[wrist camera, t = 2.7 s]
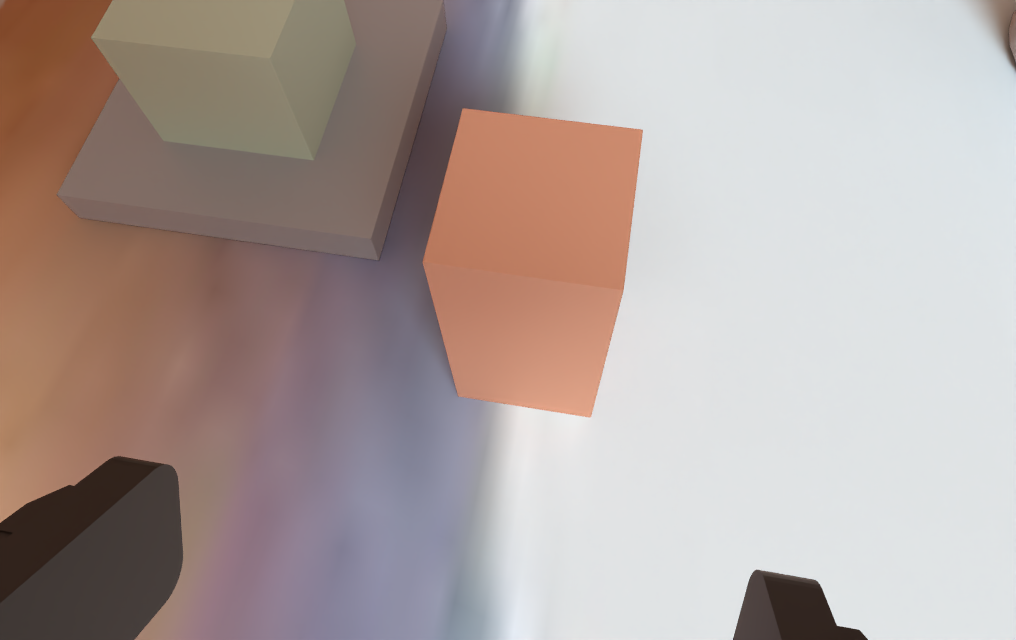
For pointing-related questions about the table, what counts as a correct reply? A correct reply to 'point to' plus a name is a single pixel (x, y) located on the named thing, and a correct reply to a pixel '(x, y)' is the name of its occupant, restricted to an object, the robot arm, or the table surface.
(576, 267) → the terracotta brick
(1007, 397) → the table surface
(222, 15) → the sage brick
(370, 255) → the base plate
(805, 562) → the table surface
